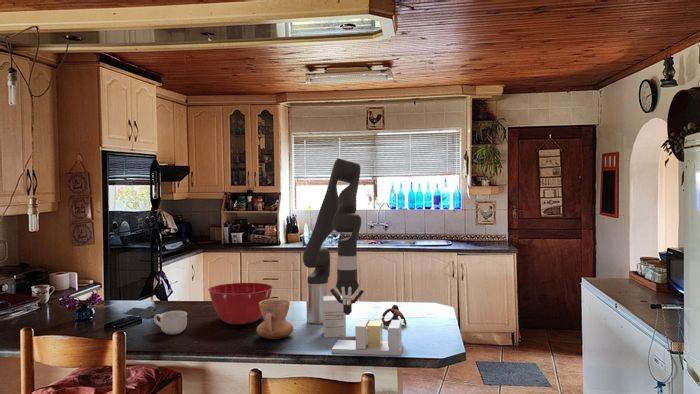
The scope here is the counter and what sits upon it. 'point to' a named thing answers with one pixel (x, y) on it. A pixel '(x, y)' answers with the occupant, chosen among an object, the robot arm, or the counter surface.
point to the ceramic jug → (274, 319)
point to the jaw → (359, 334)
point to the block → (375, 334)
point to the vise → (387, 348)
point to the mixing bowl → (239, 301)
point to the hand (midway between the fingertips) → (347, 314)
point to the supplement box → (333, 318)
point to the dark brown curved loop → (395, 315)
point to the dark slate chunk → (146, 312)
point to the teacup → (172, 321)
